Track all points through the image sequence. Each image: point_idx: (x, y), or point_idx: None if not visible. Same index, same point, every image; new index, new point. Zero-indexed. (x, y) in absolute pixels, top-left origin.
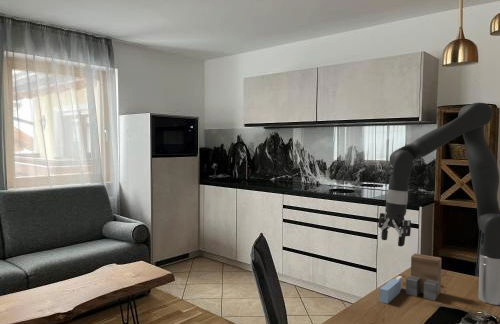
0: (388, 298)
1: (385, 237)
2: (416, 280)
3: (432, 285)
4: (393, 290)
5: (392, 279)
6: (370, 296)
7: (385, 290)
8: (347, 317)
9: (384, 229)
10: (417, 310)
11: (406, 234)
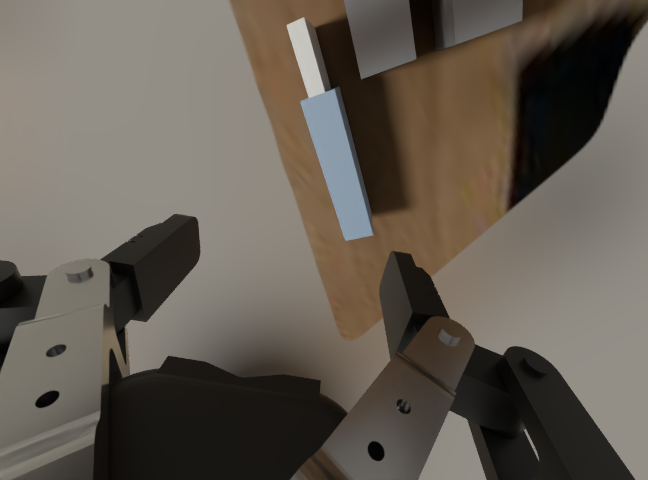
0: (370, 213)
1: (186, 247)
2: (409, 47)
3: (503, 26)
4: (358, 173)
5: (308, 115)
6: (303, 205)
7: (364, 235)
8: (357, 328)
9: (122, 323)
10: (461, 178)
11: (522, 425)
